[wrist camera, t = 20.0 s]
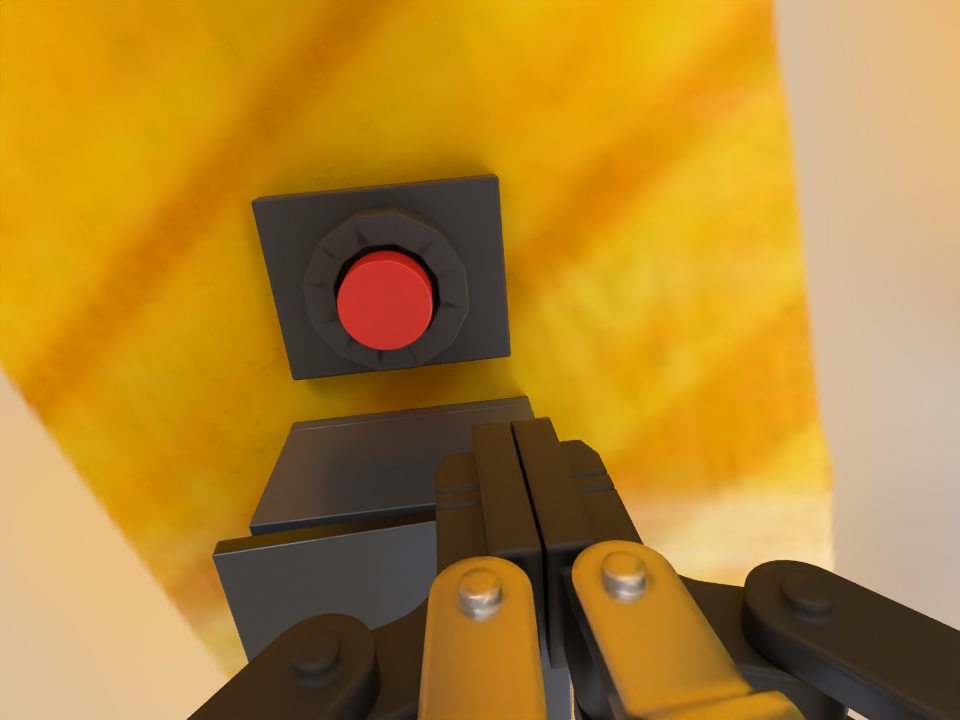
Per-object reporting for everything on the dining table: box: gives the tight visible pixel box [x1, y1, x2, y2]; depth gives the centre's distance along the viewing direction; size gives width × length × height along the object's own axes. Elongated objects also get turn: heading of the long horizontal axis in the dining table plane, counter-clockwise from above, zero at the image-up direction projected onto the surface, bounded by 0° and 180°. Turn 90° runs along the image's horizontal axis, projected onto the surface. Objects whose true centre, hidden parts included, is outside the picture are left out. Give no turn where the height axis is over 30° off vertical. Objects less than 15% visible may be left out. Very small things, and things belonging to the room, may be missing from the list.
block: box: [252, 174, 511, 380], centre depth 25 cm, size 8×10×3 cm
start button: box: [337, 251, 433, 350], centre depth 23 cm, size 4×4×2 cm
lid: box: [212, 509, 572, 720], centre depth 23 cm, size 12×13×1 cm
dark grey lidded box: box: [249, 396, 535, 536], centre depth 28 cm, size 12×13×8 cm
